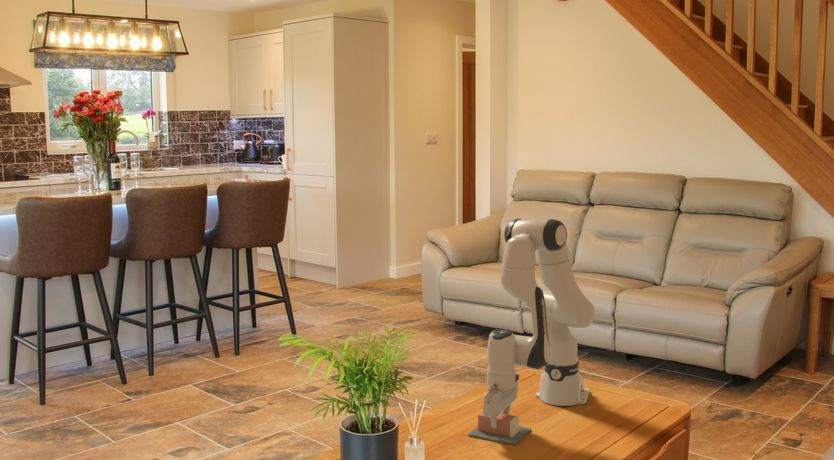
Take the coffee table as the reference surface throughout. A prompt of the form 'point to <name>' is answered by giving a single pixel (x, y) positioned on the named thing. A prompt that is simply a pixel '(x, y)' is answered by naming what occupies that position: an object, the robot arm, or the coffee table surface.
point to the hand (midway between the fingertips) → (500, 422)
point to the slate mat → (501, 436)
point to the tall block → (500, 424)
